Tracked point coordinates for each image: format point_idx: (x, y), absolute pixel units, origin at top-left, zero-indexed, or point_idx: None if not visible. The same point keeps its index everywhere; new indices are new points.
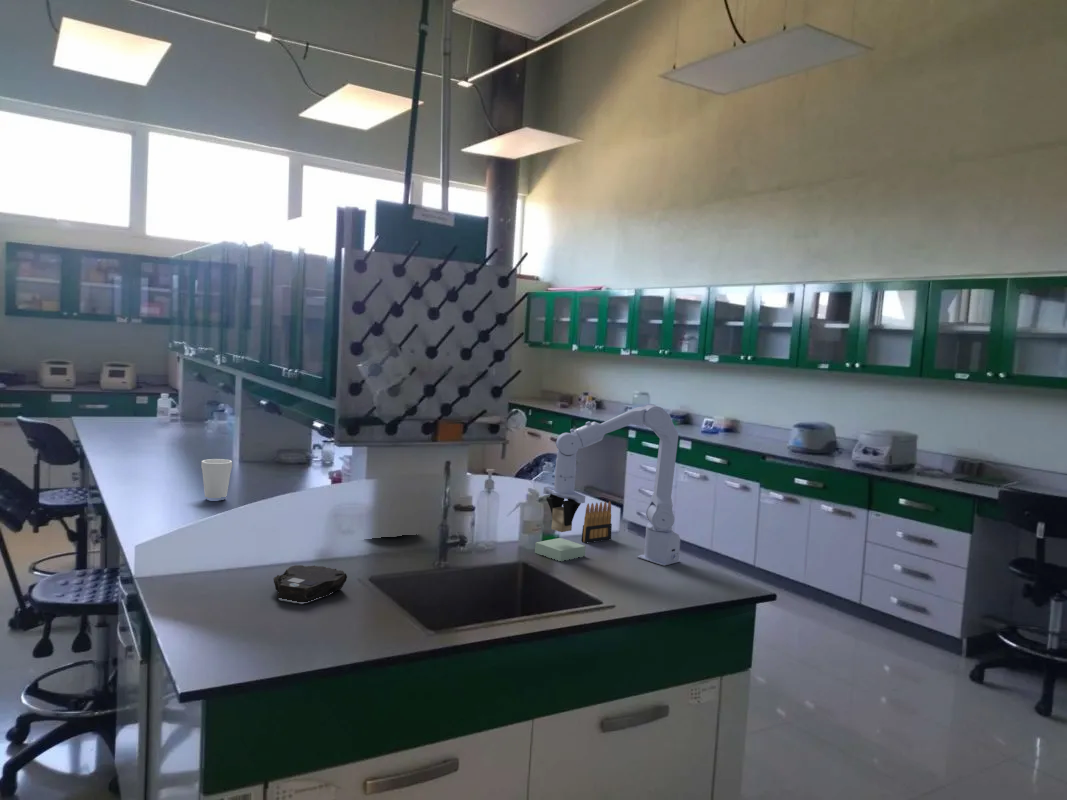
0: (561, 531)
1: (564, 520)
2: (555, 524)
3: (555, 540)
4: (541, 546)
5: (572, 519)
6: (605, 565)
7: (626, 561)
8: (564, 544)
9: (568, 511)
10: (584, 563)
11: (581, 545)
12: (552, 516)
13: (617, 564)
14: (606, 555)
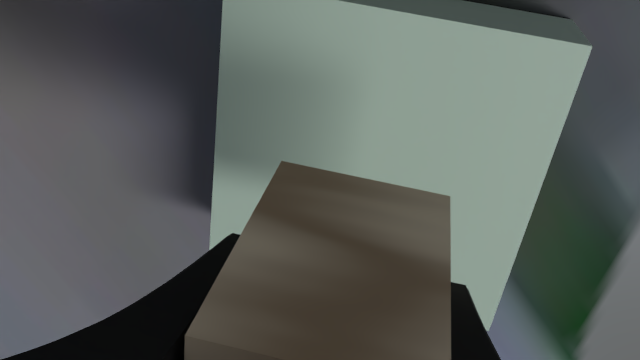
0: (280, 164)
1: None
2: (380, 219)
3: (472, 239)
4: (495, 24)
5: None
6: (22, 143)
7: (29, 296)
8: None
9: (79, 341)
10: (122, 78)
11: None
12: (444, 293)
13: (7, 213)
14: None
